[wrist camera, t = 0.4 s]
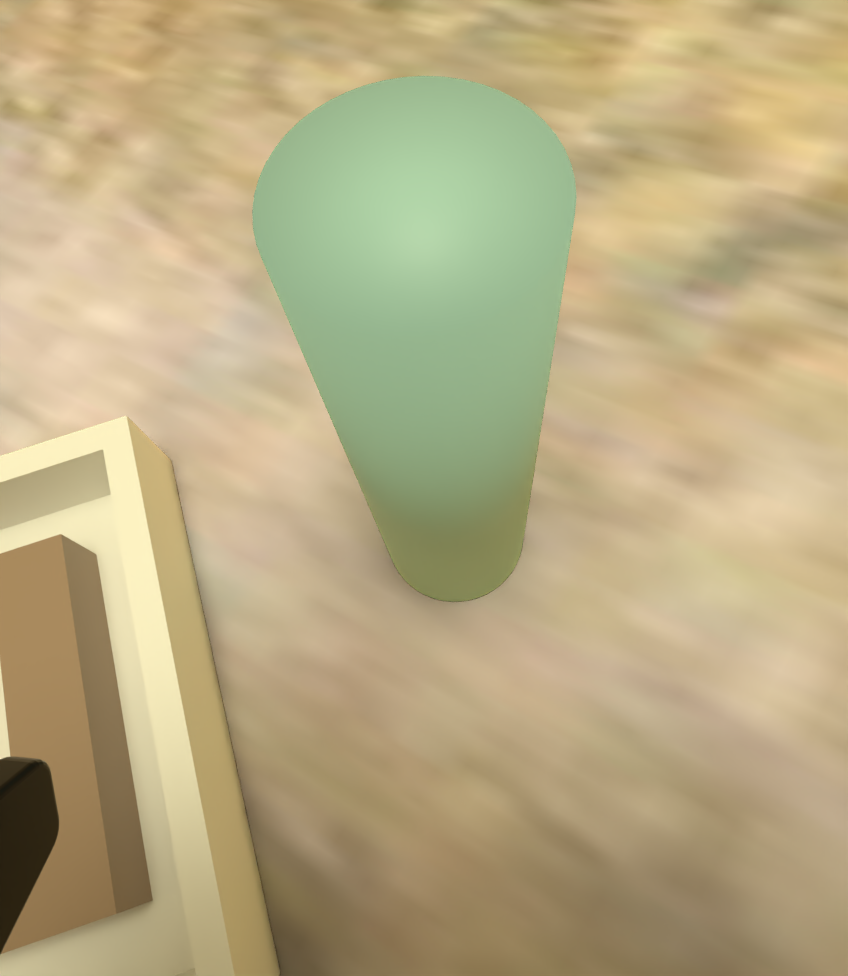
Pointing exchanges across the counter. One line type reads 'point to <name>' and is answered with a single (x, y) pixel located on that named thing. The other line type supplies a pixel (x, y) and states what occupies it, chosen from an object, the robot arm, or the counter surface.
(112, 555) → the tray box
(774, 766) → the counter surface
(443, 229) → the pale green peg
